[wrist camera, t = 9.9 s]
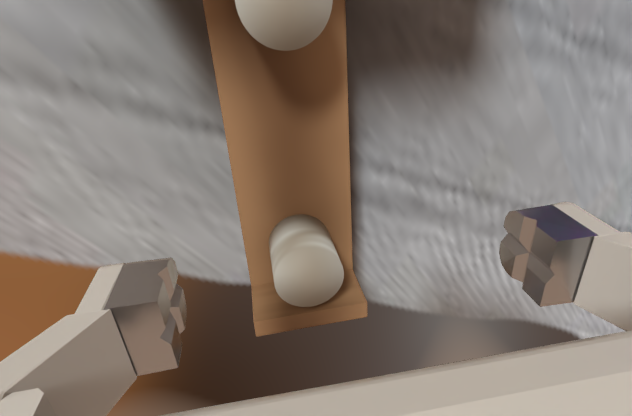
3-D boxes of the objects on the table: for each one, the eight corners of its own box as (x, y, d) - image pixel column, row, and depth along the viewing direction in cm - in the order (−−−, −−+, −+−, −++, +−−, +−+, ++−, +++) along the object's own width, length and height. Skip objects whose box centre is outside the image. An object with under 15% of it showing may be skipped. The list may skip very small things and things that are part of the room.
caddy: (322, -86, 19) (368, -133, 13) (338, 248, 28) (370, 323, 21) (194, -81, 19) (172, -128, 12) (251, 261, 27) (256, 343, 21)
